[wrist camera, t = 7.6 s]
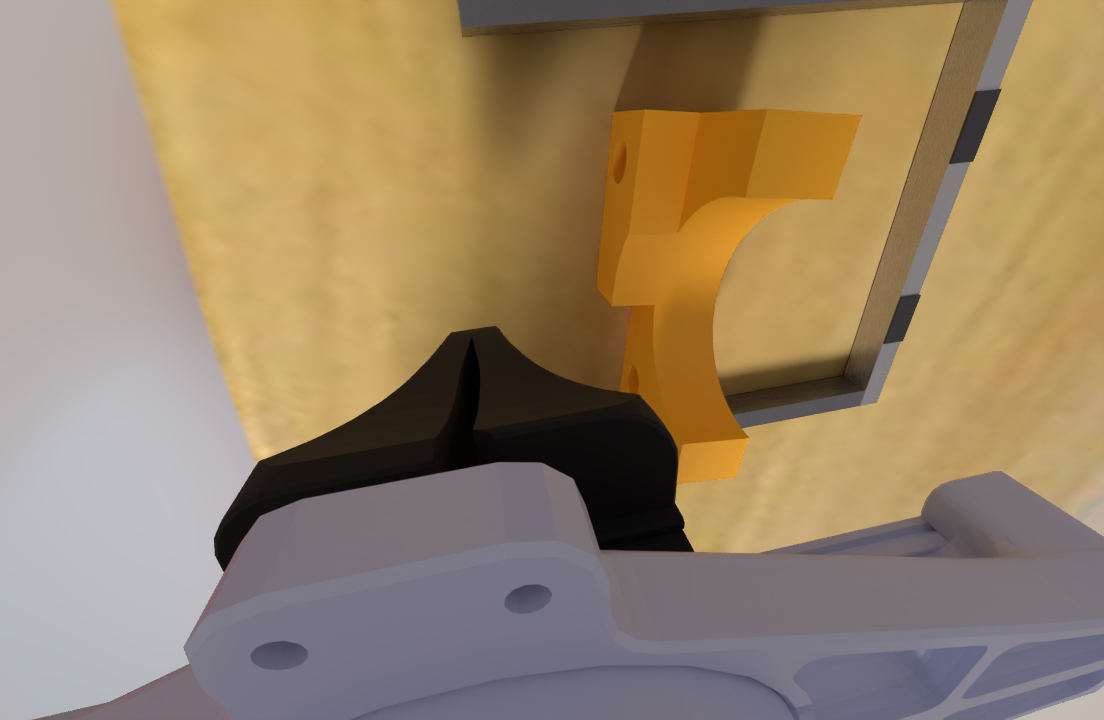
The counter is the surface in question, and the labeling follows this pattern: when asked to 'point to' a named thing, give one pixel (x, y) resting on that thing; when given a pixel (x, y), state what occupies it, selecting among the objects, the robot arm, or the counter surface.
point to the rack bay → (931, 189)
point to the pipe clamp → (699, 248)
